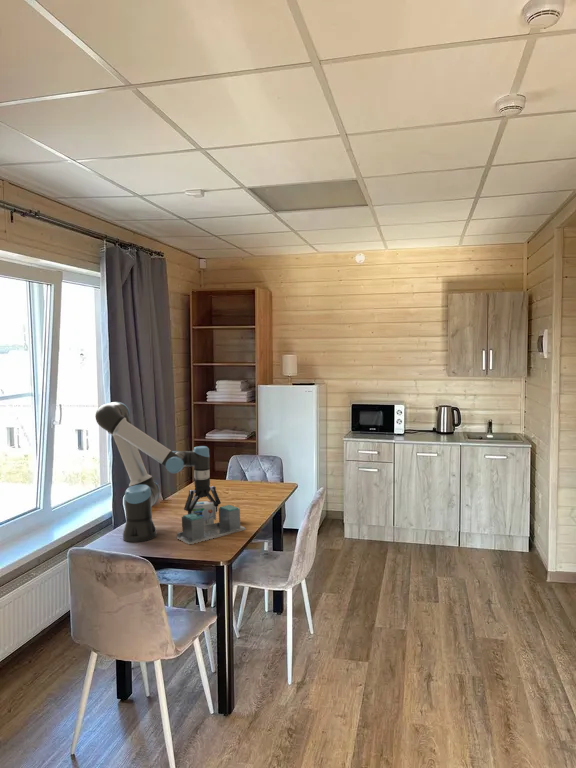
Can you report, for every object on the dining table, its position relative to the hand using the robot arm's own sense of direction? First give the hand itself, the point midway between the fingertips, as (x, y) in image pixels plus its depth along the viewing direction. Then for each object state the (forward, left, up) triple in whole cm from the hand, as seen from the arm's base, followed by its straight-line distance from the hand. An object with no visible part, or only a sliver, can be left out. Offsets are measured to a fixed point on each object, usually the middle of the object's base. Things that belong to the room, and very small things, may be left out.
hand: (203, 521), depth 272 cm
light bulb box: (0, 0, -2) cm, 2 cm away
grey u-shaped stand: (-4, -13, -2) cm, 14 cm away
